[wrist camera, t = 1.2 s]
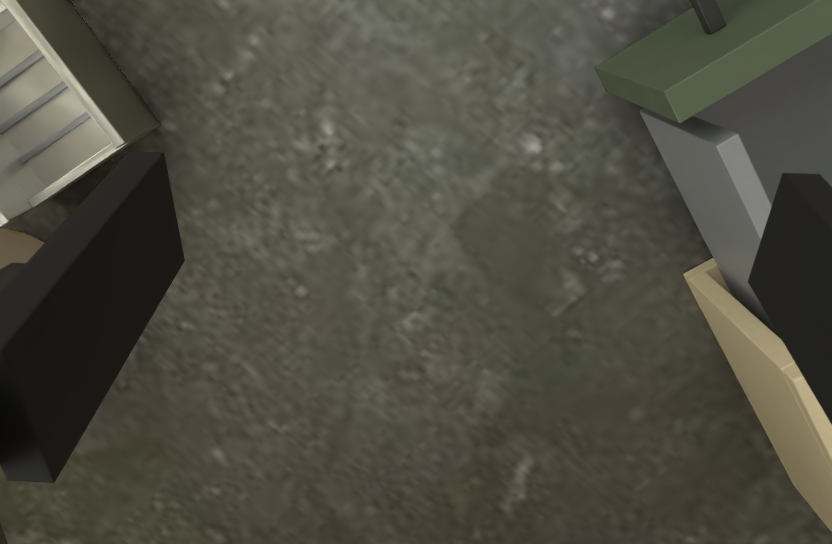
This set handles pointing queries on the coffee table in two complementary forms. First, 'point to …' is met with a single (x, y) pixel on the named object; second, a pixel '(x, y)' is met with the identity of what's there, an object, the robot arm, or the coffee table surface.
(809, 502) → the beige box shell
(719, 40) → the green-front drawer
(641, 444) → the coffee table surface
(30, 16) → the rack
